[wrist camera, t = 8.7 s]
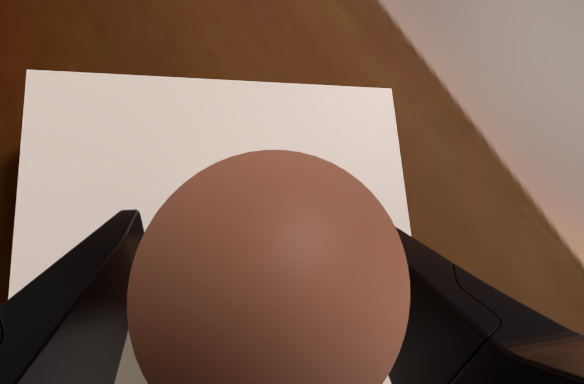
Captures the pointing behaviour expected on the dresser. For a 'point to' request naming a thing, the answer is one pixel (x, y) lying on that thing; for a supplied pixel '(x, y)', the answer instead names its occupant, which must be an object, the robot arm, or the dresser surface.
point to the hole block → (175, 151)
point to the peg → (269, 278)
